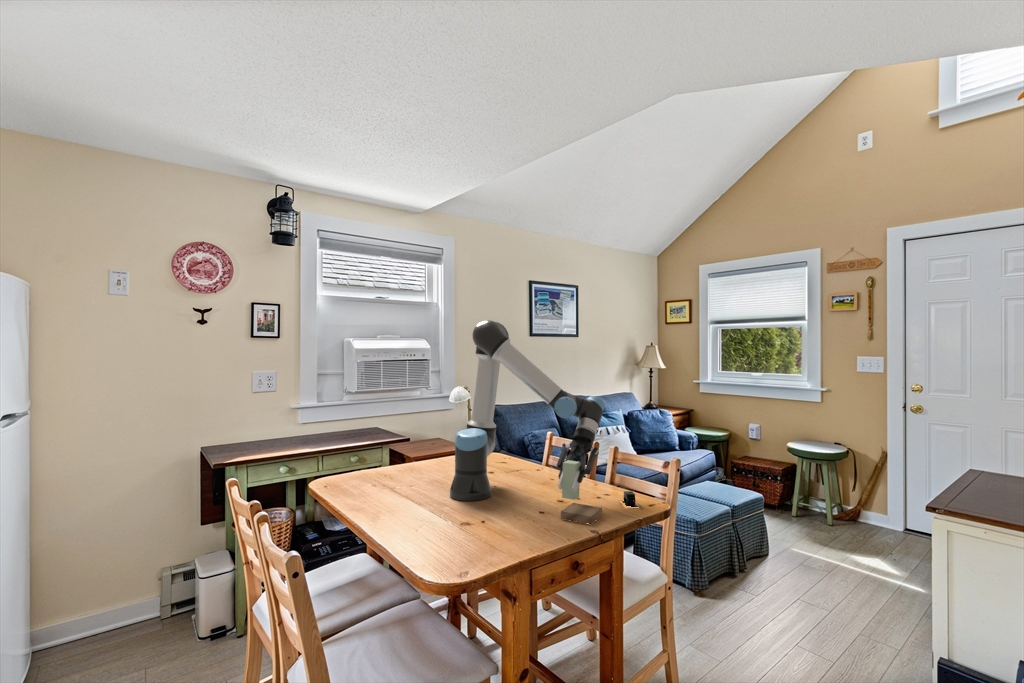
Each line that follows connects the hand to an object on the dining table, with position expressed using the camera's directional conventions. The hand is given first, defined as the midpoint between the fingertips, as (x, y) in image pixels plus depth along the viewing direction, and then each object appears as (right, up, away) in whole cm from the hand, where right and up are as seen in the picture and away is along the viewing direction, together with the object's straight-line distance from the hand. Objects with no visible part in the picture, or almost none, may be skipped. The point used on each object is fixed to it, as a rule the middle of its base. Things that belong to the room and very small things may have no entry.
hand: (566, 488), depth 166 cm
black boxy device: (+22, -8, +5) cm, 24 cm away
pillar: (+2, -4, +3) cm, 5 cm away
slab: (+4, -7, -10) cm, 12 cm away
